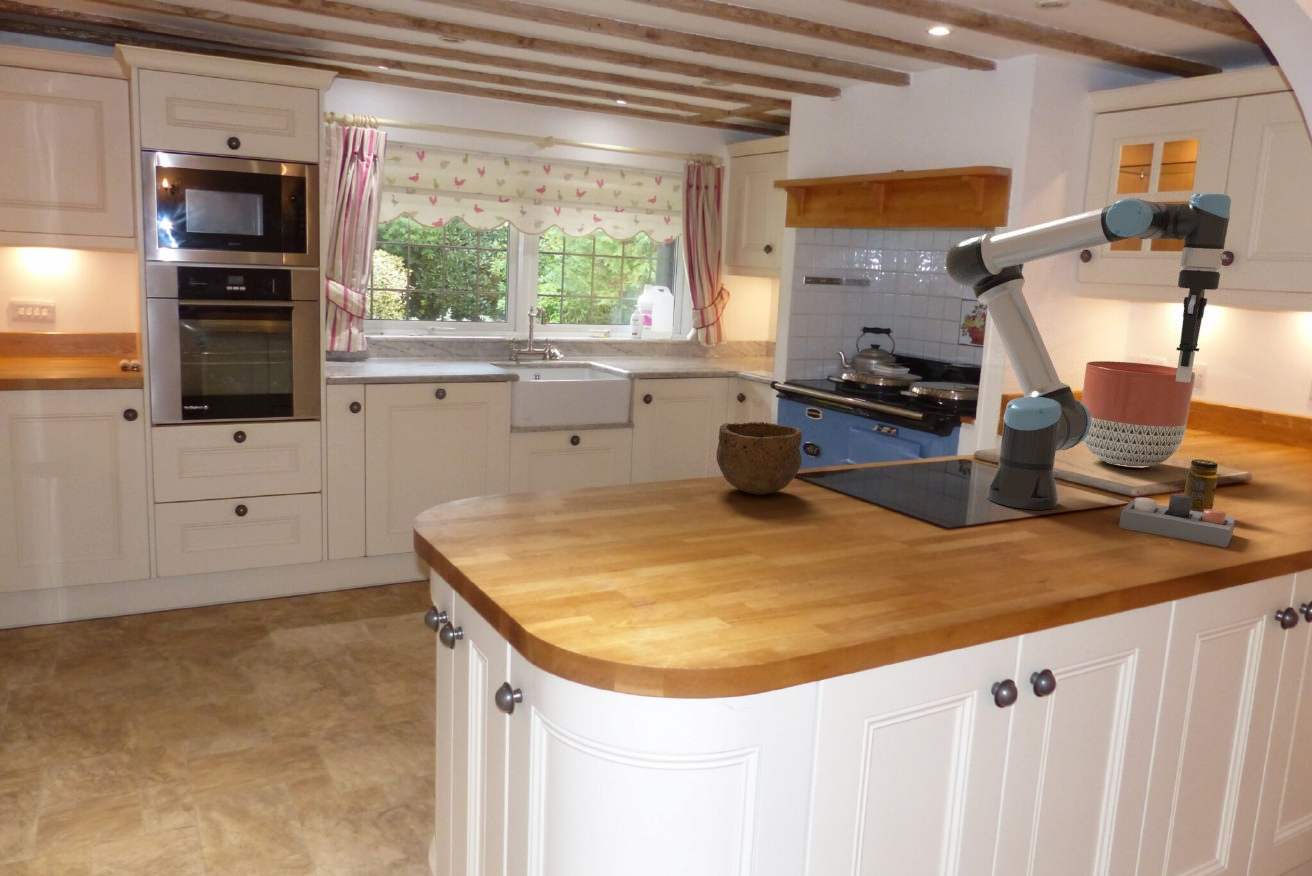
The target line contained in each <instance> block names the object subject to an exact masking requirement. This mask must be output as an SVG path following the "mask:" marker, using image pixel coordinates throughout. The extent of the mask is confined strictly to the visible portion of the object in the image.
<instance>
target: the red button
mask: <svg viewBox="0 0 1312 876" xmlns="http://www.w3.org/2000/svg"><path fill="white" fill-rule="evenodd" d="M1226 514H1227V512H1225V511H1222V510H1219V509H1213V508H1212V509H1204V512H1203V518H1202V521H1203V522H1209V523H1214V524H1220V525H1224V521H1225V516H1227V515H1226Z"/></svg>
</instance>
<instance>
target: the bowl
mask: <svg viewBox="0 0 1312 876" xmlns="http://www.w3.org/2000/svg"><path fill="white" fill-rule="evenodd" d="M802 437H803V436H802V430H801V428H798V427H793V426H790V425H782V424H781V425H779V424H776V423H771V422H770V423H769V422H763V421H760V422H758V421H754V422H752V421H749V422H744V423H738V422H735V423H729V422H728V423H727V422H726V423H723V424H721V425H720V427H719V433H718V444H717V449H716V462H717V464H718V467H719V470H720V472H721V474H722V475H723V477H724V479H725V480H726V482H728V483H729V484H730V485H731V486H733V487H734V488H736V489H738V490H739V491H742V492H745V493H747V494H753V495H759V496H760V495H762V496H763V495H768V494H772V493H775V492H778V491H780V490H783V489H784V488H786V487H787V486H788V485H790V483H791V482H792V481H793V479H794V478H795V476H796V475H797V474H798V472H799V470H800V468H801V465H802V463H803V462H802V454H801V450H800V447H801V444H802Z"/></svg>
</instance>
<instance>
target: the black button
mask: <svg viewBox="0 0 1312 876" xmlns="http://www.w3.org/2000/svg"><path fill="white" fill-rule="evenodd" d="M1191 501H1192V497H1190V496H1186V495H1184V494H1180V493H1174V494H1173V493H1171V494H1170V495H1169V503H1168V507H1169V508H1168V514H1169V515H1171V516H1175V517H1182V518H1187V517H1189V513H1190V507H1191Z"/></svg>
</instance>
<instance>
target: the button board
mask: <svg viewBox="0 0 1312 876" xmlns="http://www.w3.org/2000/svg"><path fill="white" fill-rule="evenodd" d="M1134 505H1135V499H1134V500H1131V501H1129V502H1128V503H1127V504H1126V506H1124V508H1123V509H1122V510H1121V513H1120V517H1119V518H1120V520H1119V525H1118V526H1119V527H1118V528H1121V529H1125V530H1131V531H1138V532H1140V533H1141V532H1142V533H1149V534H1153V535H1159V536H1163V537H1168V538H1173V537H1174V539H1179V540H1185V541H1190V542H1195V543H1200V542H1201V543H1202V544H1207V545H1211V546H1216V547H1222V548H1228V546H1229V544H1230V541H1231V539H1232V537H1233V534H1234V528H1235V524H1236V523H1235V522H1236V517H1232V516H1227V515H1225V521H1224V525H1220V524H1214V523H1209V522H1203V521H1202V518H1203V512H1197V511H1191V510H1190V513H1189V517H1187V518H1182V517H1175V516H1171V515H1169V514H1168V508H1169V505H1168V506H1167V505H1161V504H1157V503H1156V506H1155V513H1152V512H1147V511H1141V510H1135V509H1134Z"/></svg>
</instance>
